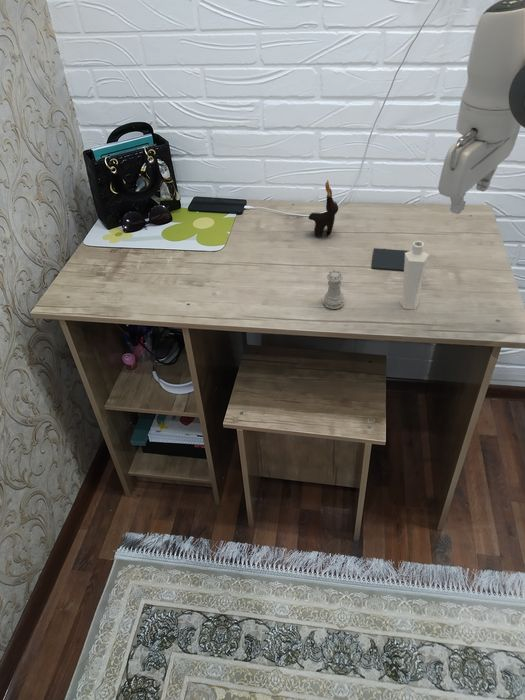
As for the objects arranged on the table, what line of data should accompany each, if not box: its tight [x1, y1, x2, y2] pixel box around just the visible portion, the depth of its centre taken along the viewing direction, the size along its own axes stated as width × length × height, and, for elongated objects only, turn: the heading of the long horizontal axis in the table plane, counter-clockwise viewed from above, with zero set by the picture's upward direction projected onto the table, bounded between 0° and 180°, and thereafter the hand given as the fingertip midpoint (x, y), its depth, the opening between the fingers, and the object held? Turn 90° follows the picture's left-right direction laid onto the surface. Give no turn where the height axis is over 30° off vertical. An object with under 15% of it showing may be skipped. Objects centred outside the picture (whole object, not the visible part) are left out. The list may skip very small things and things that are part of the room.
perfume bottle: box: [399, 240, 429, 310], centre depth 116 cm, size 5×4×15 cm
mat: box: [370, 247, 410, 272], centre depth 133 cm, size 10×8×1 cm
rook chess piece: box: [323, 269, 345, 310], centre depth 120 cm, size 4×4×8 cm
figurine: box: [308, 179, 339, 237], centre depth 139 cm, size 11×7×15 cm
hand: (469, 200), depth 98 cm, fingers open, 8 cm apart
